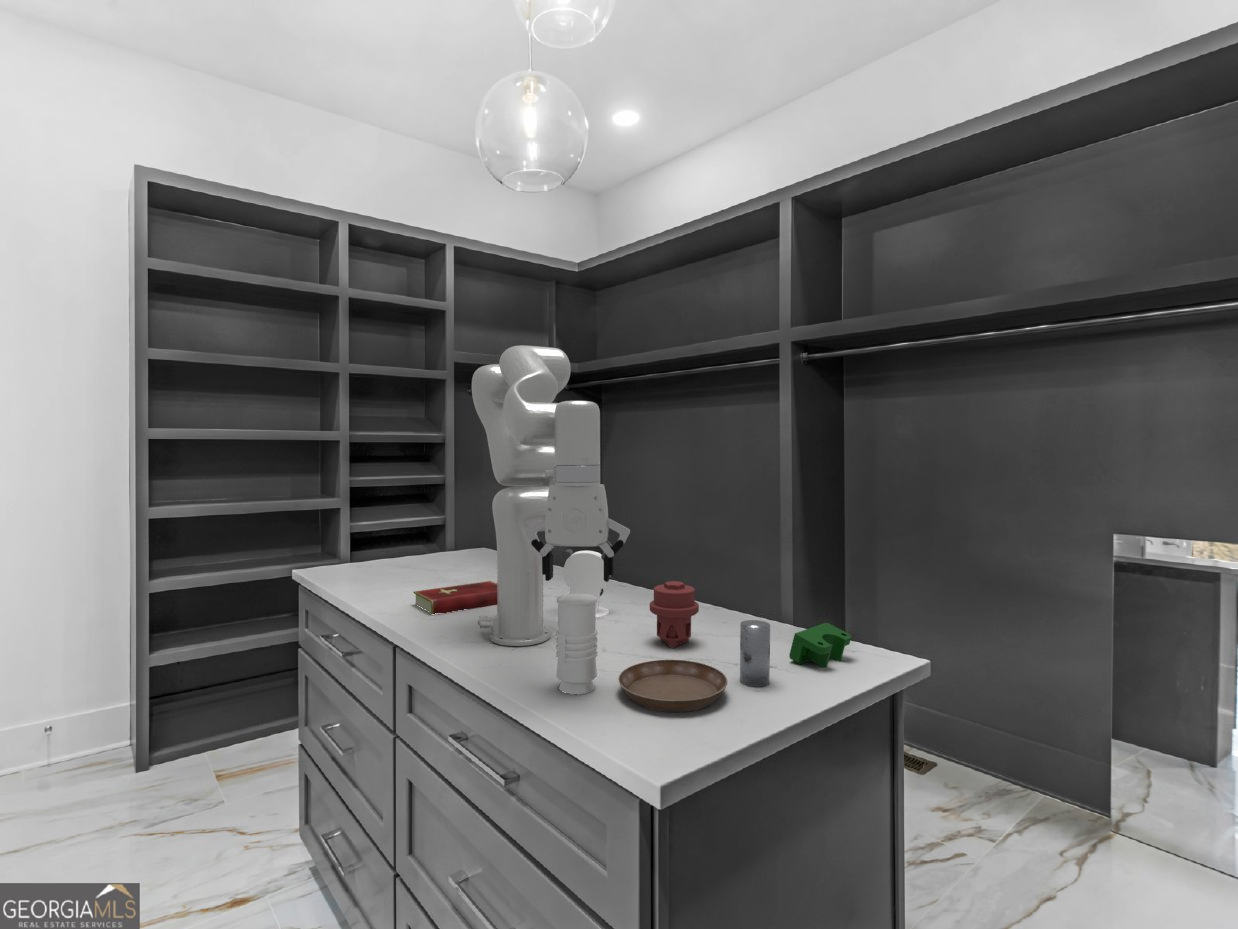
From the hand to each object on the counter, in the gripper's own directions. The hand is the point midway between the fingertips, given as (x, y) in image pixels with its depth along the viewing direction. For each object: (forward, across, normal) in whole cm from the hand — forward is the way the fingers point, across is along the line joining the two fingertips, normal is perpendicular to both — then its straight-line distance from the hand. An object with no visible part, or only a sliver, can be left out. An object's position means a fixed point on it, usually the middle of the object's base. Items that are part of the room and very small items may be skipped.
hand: (578, 579), depth 107 cm
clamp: (+19, +43, +19) cm, 51 cm away
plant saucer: (+19, +16, 0) cm, 25 cm away
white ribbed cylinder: (+18, 0, +1) cm, 19 cm away
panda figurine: (+18, -6, +48) cm, 51 cm away
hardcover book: (+18, -38, +53) cm, 67 cm away
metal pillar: (+18, +30, +7) cm, 35 cm away
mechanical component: (+18, +16, +27) cm, 36 cm away
